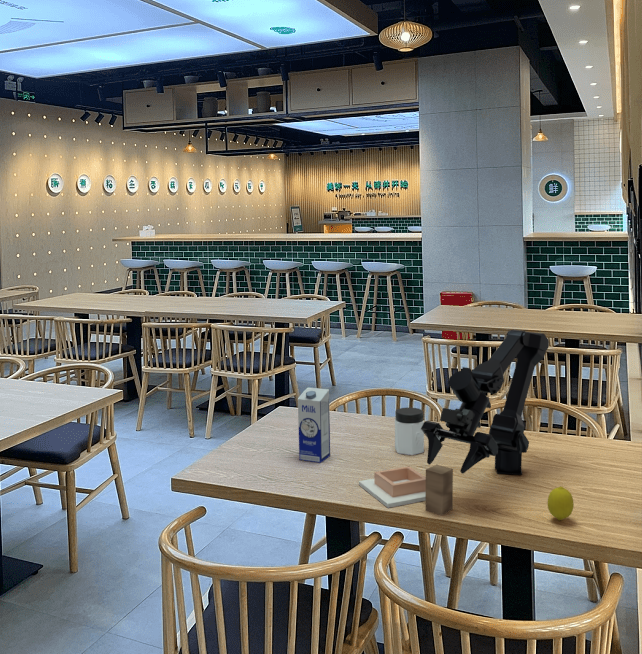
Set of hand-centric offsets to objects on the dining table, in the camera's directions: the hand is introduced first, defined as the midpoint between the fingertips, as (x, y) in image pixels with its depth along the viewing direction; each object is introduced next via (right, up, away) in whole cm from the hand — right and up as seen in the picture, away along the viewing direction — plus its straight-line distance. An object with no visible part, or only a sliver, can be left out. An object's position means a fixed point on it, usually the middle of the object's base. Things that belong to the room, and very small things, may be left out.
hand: (444, 468), depth 166 cm
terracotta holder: (-9, -8, +12) cm, 17 cm away
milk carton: (-31, -5, +37) cm, 48 cm away
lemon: (+25, -11, -7) cm, 28 cm away
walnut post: (-1, -10, 0) cm, 10 cm away
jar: (-3, -3, +42) cm, 42 cm away
